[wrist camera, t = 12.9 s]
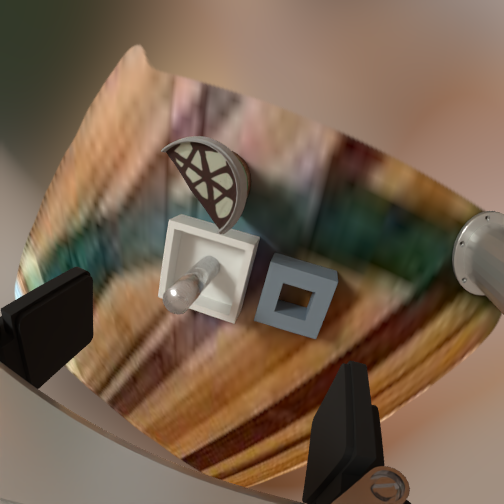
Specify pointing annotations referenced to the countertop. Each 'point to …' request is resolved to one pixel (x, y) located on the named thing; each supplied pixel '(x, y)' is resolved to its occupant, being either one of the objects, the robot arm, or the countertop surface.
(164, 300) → the steel pin
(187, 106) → the countertop surface
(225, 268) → the parts tray
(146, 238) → the countertop surface
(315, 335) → the block
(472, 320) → the countertop surface
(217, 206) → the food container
